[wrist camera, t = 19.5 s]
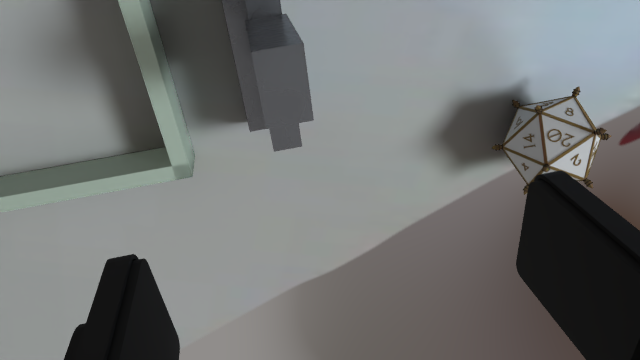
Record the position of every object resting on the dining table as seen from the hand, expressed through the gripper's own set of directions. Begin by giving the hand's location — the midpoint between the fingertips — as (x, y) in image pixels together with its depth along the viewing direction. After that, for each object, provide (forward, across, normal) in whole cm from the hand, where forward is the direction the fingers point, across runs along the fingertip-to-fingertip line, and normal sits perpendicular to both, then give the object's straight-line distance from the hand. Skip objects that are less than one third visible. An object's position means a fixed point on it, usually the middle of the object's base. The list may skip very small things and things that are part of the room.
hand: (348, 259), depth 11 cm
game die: (+26, -22, +12) cm, 36 cm away
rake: (+26, 0, 0) cm, 26 cm away
